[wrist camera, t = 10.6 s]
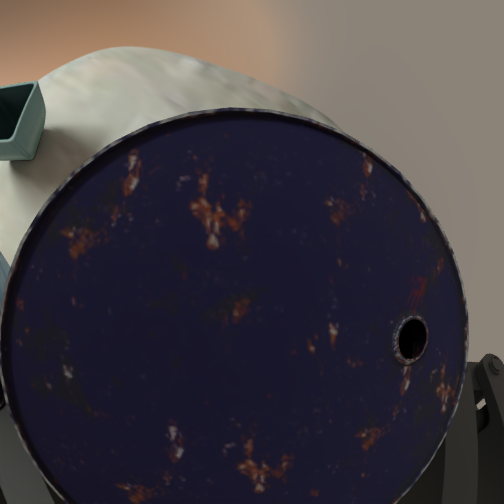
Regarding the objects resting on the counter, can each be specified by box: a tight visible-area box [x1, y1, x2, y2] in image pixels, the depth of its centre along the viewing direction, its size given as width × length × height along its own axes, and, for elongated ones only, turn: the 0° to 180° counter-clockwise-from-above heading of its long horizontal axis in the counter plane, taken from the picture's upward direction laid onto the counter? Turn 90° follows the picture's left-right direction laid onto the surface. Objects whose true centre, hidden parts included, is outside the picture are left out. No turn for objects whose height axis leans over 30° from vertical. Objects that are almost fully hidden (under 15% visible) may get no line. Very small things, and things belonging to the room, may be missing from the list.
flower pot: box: [0, 81, 46, 161], centre depth 27 cm, size 9×9×9 cm
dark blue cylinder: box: [0, 107, 469, 504], centre depth 12 cm, size 10×10×15 cm
